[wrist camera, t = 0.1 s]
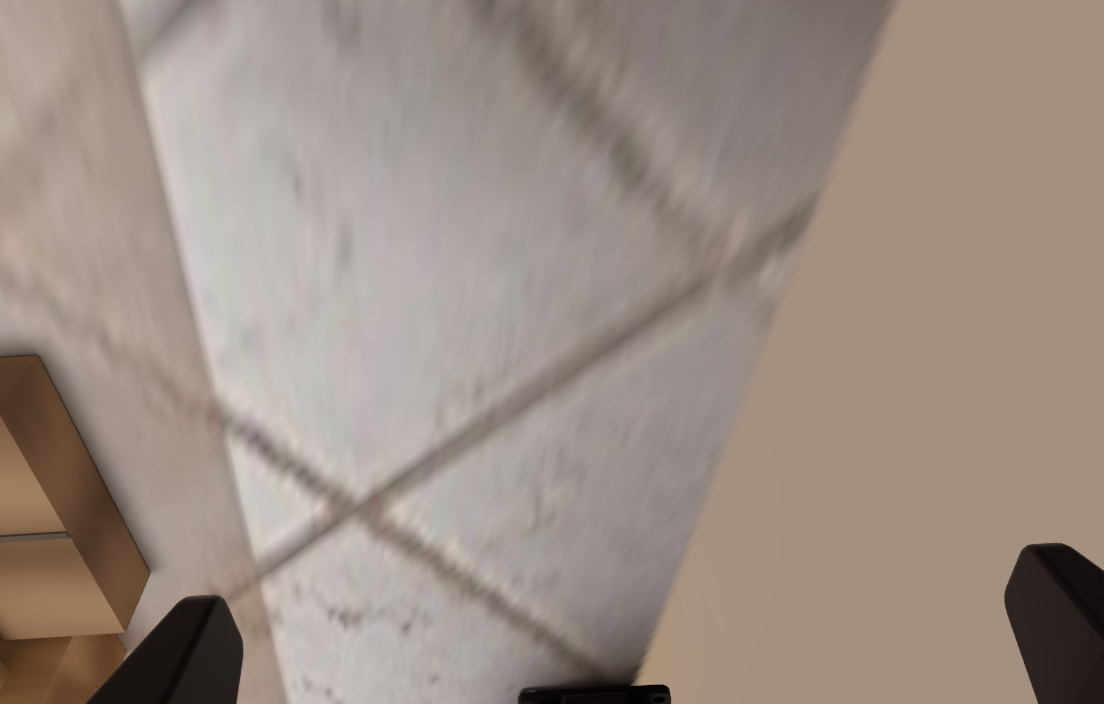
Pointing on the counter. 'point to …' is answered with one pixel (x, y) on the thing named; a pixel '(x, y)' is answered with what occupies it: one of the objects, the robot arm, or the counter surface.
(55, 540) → the plank
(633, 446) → the counter surface
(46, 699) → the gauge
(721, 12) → the counter surface
